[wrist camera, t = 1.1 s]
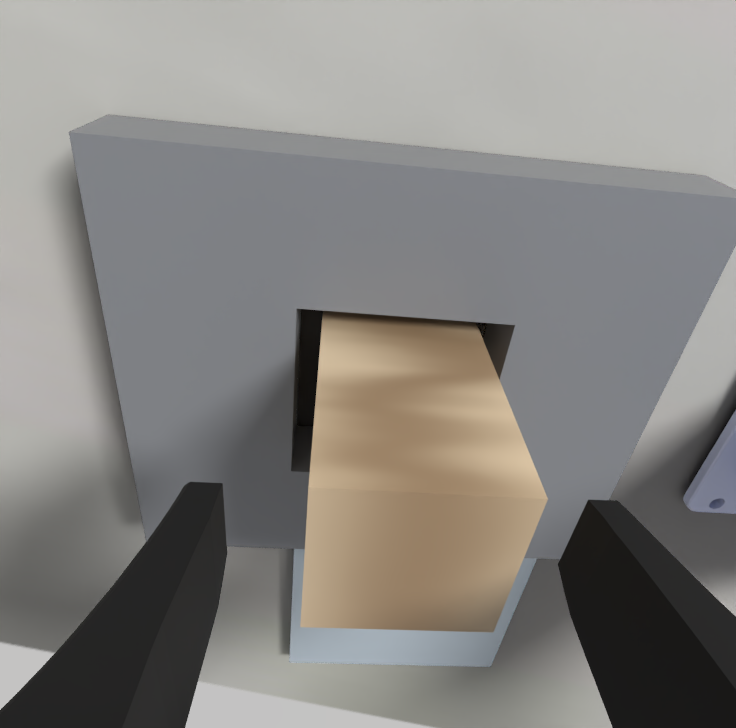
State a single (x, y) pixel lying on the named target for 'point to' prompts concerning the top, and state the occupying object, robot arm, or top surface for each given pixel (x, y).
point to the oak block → (413, 479)
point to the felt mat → (398, 636)
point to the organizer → (381, 297)
